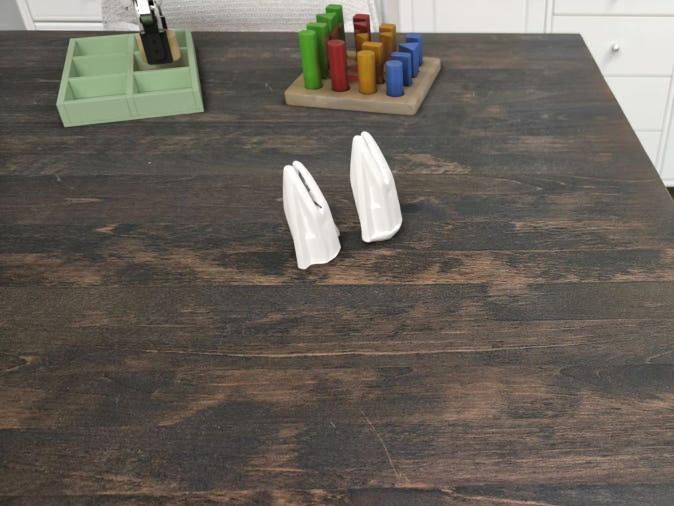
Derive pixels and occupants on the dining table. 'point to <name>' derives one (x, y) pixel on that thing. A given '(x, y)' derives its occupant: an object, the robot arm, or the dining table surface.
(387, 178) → the shaker set
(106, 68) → the grid
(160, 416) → the dining table surface
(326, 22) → the peg board
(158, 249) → the dining table surface
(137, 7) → the robot arm
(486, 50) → the dining table surface
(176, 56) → the token
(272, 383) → the dining table surface
